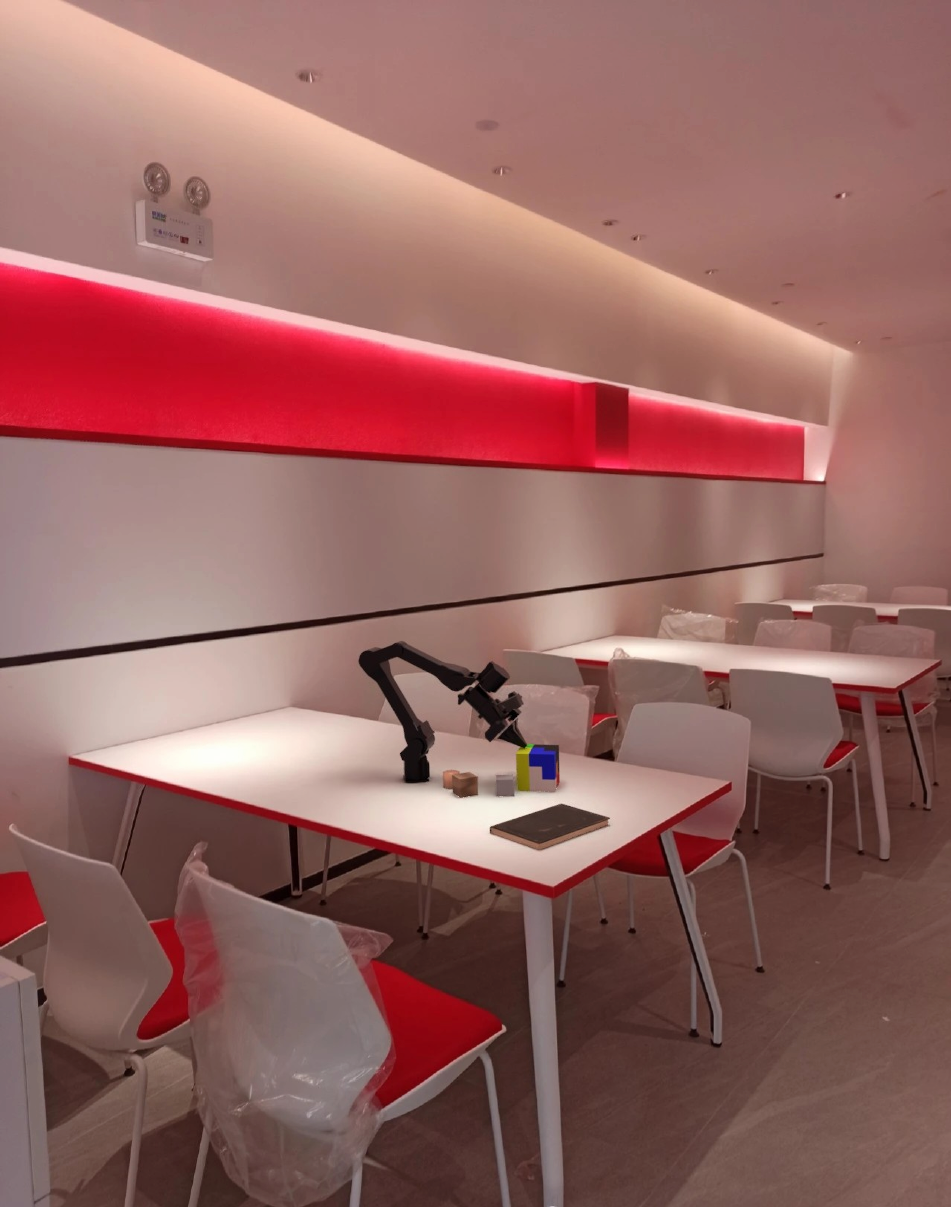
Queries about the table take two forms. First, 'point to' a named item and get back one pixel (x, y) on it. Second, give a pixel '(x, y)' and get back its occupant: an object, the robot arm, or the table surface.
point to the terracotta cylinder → (448, 778)
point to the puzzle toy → (538, 768)
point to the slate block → (504, 785)
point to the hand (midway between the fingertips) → (526, 746)
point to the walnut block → (465, 784)
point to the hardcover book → (549, 826)
